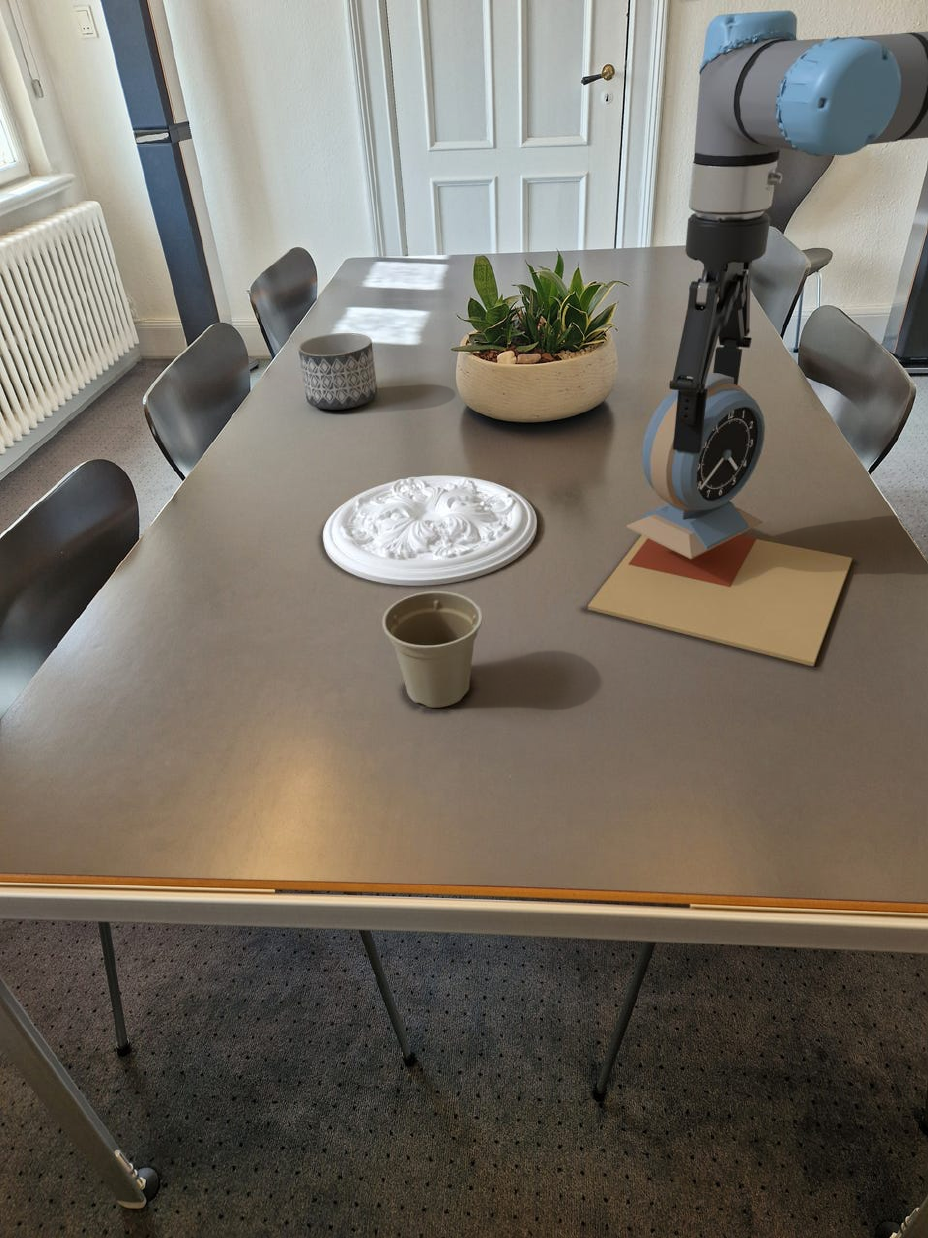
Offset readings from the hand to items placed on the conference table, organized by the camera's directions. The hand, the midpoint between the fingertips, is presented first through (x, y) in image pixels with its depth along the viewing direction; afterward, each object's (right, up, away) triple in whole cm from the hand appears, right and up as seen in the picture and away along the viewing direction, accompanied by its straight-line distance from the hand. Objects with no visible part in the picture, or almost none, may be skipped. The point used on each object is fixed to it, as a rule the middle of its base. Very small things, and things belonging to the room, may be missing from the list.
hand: (705, 427), depth 92 cm
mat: (+3, -17, +5) cm, 18 cm away
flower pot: (-29, -28, -8) cm, 41 cm away
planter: (-48, +18, +60) cm, 79 cm away
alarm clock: (+1, -10, +7) cm, 12 cm away
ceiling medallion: (-31, -9, +20) cm, 38 cm away
